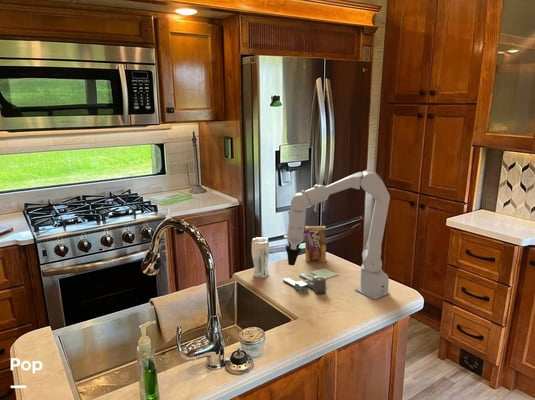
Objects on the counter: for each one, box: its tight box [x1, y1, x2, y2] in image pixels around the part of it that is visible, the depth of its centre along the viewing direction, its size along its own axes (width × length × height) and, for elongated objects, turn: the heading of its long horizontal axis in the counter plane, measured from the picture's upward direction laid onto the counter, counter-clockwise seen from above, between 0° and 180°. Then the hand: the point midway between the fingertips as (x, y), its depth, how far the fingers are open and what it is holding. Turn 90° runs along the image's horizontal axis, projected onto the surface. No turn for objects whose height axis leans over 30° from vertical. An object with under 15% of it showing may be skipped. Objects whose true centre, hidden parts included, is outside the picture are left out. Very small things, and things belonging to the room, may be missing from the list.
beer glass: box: [251, 237, 270, 279], centre depth 161 cm, size 7×7×15 cm
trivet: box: [310, 267, 339, 280], centre depth 162 cm, size 8×7×1 cm
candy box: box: [304, 225, 327, 263], centre depth 175 cm, size 9×4×15 cm, turn 85°
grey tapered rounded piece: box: [304, 277, 327, 296], centre depth 149 cm, size 10×4×5 cm, turn 34°
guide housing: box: [282, 272, 324, 294], centre depth 154 cm, size 12×11×3 cm
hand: (291, 260), depth 149 cm, fingers open, 7 cm apart
